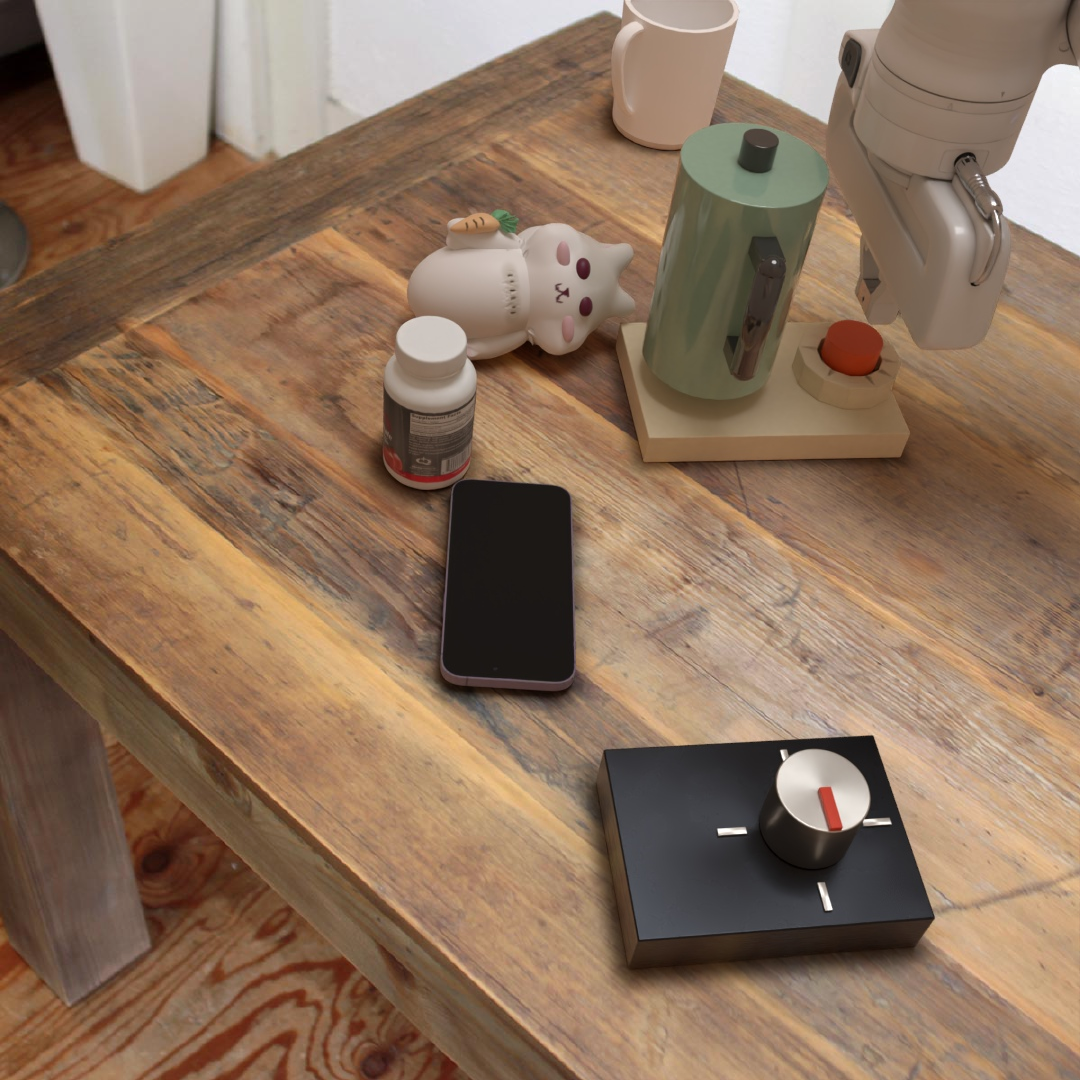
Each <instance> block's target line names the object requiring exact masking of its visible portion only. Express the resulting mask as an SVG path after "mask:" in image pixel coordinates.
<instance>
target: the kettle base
mask: <svg viewBox="0 0 1080 1080" xmlns="http://www.w3.org/2000/svg"><path fill="white" fill-rule="evenodd" d="M835 322H836V321H787V323H786V327H785V330H784V333H783V337H782V340H781V343H780V347H779V350H778V353H777V357H776V360H775V363H774V367H773V370H772V373H771V376H770V378H769V379H768V381H767V382H766V383H765V384H764V385H763V386H762V387H761V388H760V389H758V390H757V391H755V392H753V393H752V394H749V395H747V396H744V397H740V398H736V399H729V400H711V399H703V398H699V397H694V396H691V395H688V394H685V393H682V392H680V391H678V390H676V389H674V388H672V387H670V386H668V385H667V384H665V383H664V382H662V381H661V380H660V379H659V378H658V377H657V376H656V375H655V374H654V373H653V372H652V371H651V370H650V369H649V367H648V365H647V364H646V362H645V359H644V357H643V353H642V341H643V336H644V331H645V326H646V322H620V323H619V327H618V332H617V337H616V343H615V351H616V355H617V359H618V363H619V367H620V371H621V376H622V380H623V383H624V387H625V391H626V395H627V399H628V404H629V408H630V412H631V417H632V420H633V421H632V422H633V424H634V429H635V433H636V437H637V441H638V444H639V449H640V453H641V457H642V461H643V463H678V462H680V463H681V462H725V461H726V462H729V461H731V462H732V461H776V460H777V461H778V460H779V461H780V460H783V461H784V460H824V459H825V460H828V459H829V460H831V459H878V458H881V459H882V458H883V459H884V458H885V459H886V458H901V456H902V454H903V452H904V449H905V447H906V445H907V443H908V440H909V438H910V435H911V431H910V429H909V426H908V425H907V422H906V419H905V417H904V415H903V412H902V410H901V407H900V406H899V404H898V401H897V399H896V396H895V395H894V392H893V390H892V388H893V387H894V385H895V381H896V379H897V376H898V373H899V370H900V367H901V365H902V362H901V360H900V357H899V355H898V353H897V351H896V348H895V346H894V345H893V344H892V343H890V342H889V341H888V340H886V338H884V337H883V336H881V337H882V339H883V348H882V350H881V353H880V356H879V358H878V361H877V364H876V367H875V368H874V370H873V371H872V372H871V373H869V374H867V375H864V376H848V375H845V374H842V373H840V372H837V371H834V370H832V369H831V368H830V367H828V366H827V365H826V364H825V363H824V361H823V359H822V356H821V350H822V347H823V344H824V341H825V338H826V335H827V332H828V329H829V327H830V326H831V325H832V324H834V323H835Z"/></svg>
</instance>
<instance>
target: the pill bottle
mask: <svg viewBox="0 0 1080 1080" xmlns="http://www.w3.org/2000/svg"><path fill="white" fill-rule="evenodd" d="M394 345H395V346H394V353H393V354H392V356H391V357H390V358H389V359H388V361H387V363H386V365H385V367H384V370H383V380H382V381H383V382H382V388H383V389H382V390H383V391H382V392H383V394H382V395H383V398H382V400H383V402H382V411H383V412H382V459H383V463H384V467H385V468H386V471H387V472H388V473H389V474H390V475H391V476H392V477H393V478H394V479H395V480H396V481H398V482H399V483H400V484H403V485H405V486H407V487H409V488H413V489H417V490H421V491H422V490H428V491H429V490H437V489H438V490H439V489H443V488H446V487H449V486H451V485H454V484H455V483H457V482H458V481H460V480H462V478H463V477H464V476H465V474H466V473H467V471H468V470H469V467H470V464H471V461H472V460H471V459H472V452H473V451H472V449H473V436H474V425H475V414H476V413H475V412H476V403H477V388H478V376H477V371H476V368H475V366H474V364H473V362H472V360H469V359H468V358H467V338H466V335H465V332H464V331H463V329H462V328H461V327H460V326H459V325H457V324H456V323H455V322H453V321H451V320H449V319H446V318H443V317H438V316H422V317H413V318H411V319H409V320H408V321H405V322H404V323H403V324H401V326H400V327H399V328H398V329H397V332H396V336H395V344H394Z"/></svg>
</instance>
